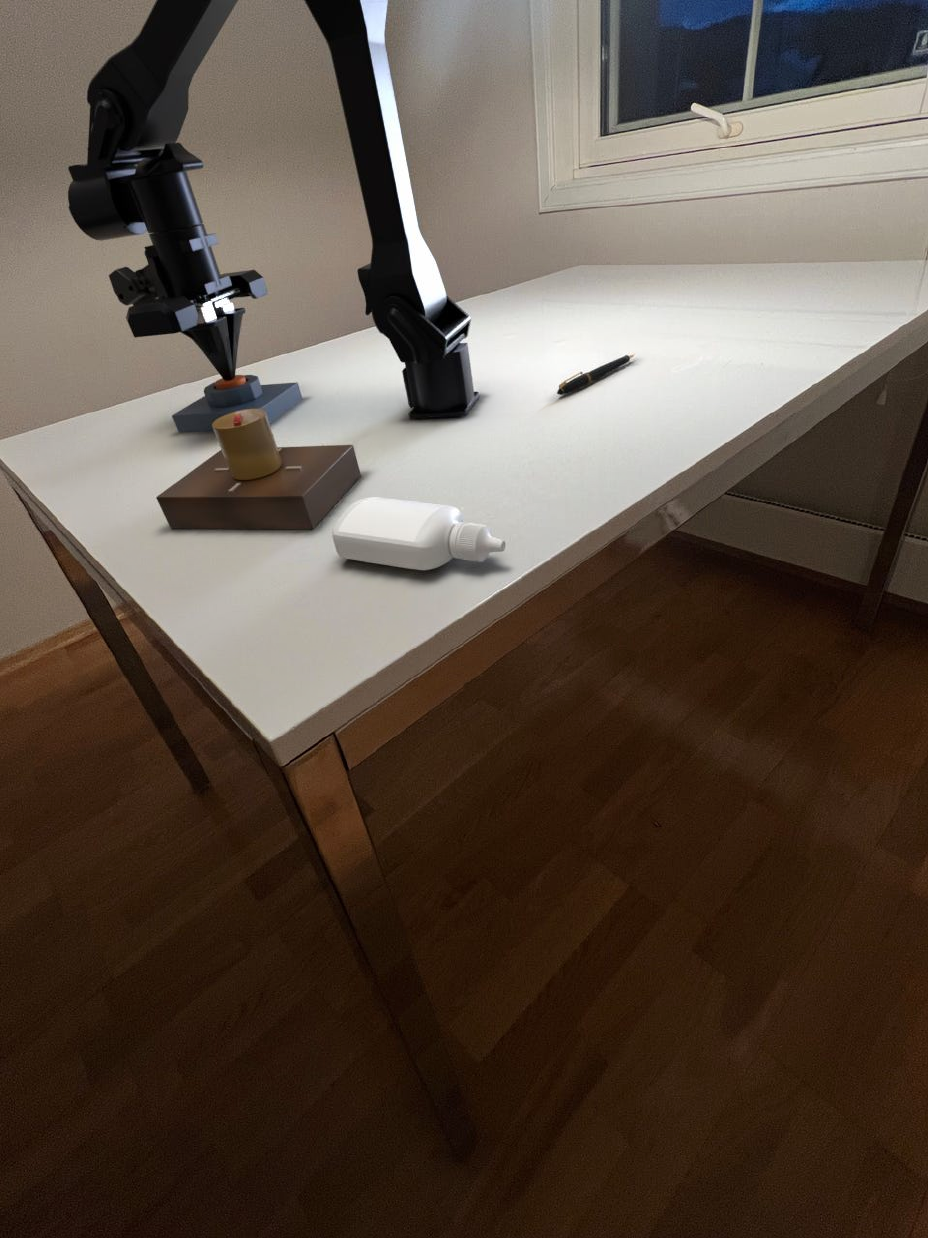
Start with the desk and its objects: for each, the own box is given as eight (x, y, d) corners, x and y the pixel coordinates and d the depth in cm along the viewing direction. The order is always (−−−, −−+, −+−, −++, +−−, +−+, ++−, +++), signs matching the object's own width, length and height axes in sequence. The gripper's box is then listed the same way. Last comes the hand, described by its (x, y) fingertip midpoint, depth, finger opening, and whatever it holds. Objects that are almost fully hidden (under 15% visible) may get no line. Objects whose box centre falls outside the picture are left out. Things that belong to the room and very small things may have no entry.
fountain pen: (630, 359, 74) (631, 346, 73) (639, 360, 74) (639, 346, 73) (552, 398, 67) (551, 384, 66) (561, 400, 66) (560, 385, 66)
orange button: (254, 388, 78) (249, 373, 77) (239, 398, 75) (234, 383, 74) (230, 389, 79) (225, 375, 78) (213, 399, 76) (208, 385, 75)
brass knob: (232, 466, 56) (212, 412, 53) (281, 454, 57) (264, 401, 54) (230, 485, 52) (208, 428, 50) (283, 472, 53) (264, 416, 50)
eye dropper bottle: (330, 494, 43) (487, 511, 38) (378, 497, 48) (523, 512, 43) (327, 558, 44) (480, 583, 39) (374, 554, 49) (516, 576, 44)
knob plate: (361, 475, 58) (352, 442, 56) (313, 529, 50) (301, 493, 49) (232, 477, 62) (220, 447, 60) (170, 528, 55) (154, 495, 53)
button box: (303, 399, 81) (293, 367, 78) (263, 429, 73) (251, 394, 71) (223, 404, 84) (212, 373, 82) (178, 433, 77) (164, 400, 74)
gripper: (168, 226, 76) (216, 360, 85) (51, 253, 62) (124, 410, 71) (247, 213, 73) (288, 354, 82) (142, 238, 59) (206, 405, 68)
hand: (229, 379), depth 76 cm, fingers closed, pressing on orange button
